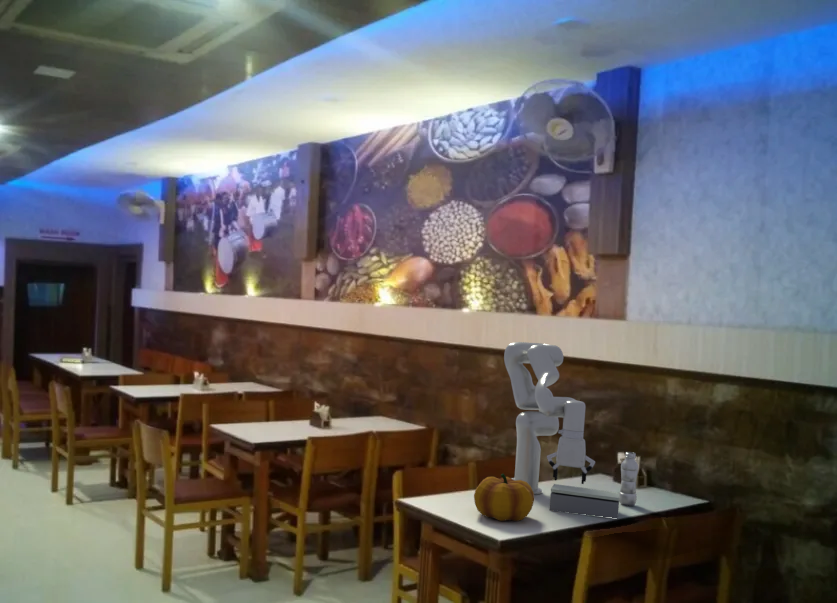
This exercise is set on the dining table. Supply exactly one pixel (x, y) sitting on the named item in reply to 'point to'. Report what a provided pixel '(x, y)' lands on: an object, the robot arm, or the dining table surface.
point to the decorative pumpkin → (504, 498)
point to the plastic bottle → (628, 480)
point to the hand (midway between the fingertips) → (569, 481)
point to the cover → (585, 492)
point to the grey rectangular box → (583, 505)
